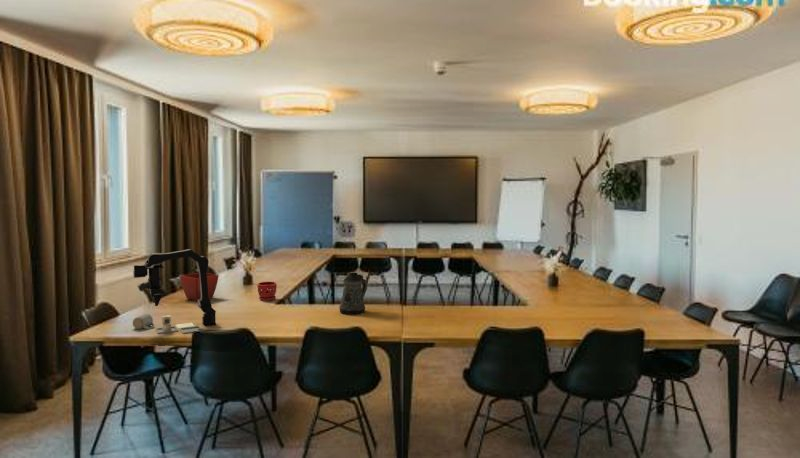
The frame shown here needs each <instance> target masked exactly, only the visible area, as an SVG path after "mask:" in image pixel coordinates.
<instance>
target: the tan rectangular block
mask: <svg viewBox="0 0 800 458" xmlns="http://www.w3.org/2000/svg"><path fill="white" fill-rule="evenodd" d="M161 321H162V322H161V326H162V327H161V328H162V330H163V332H165V331H171V327H172V316H171V315H170V314H167V315H161Z"/></svg>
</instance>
